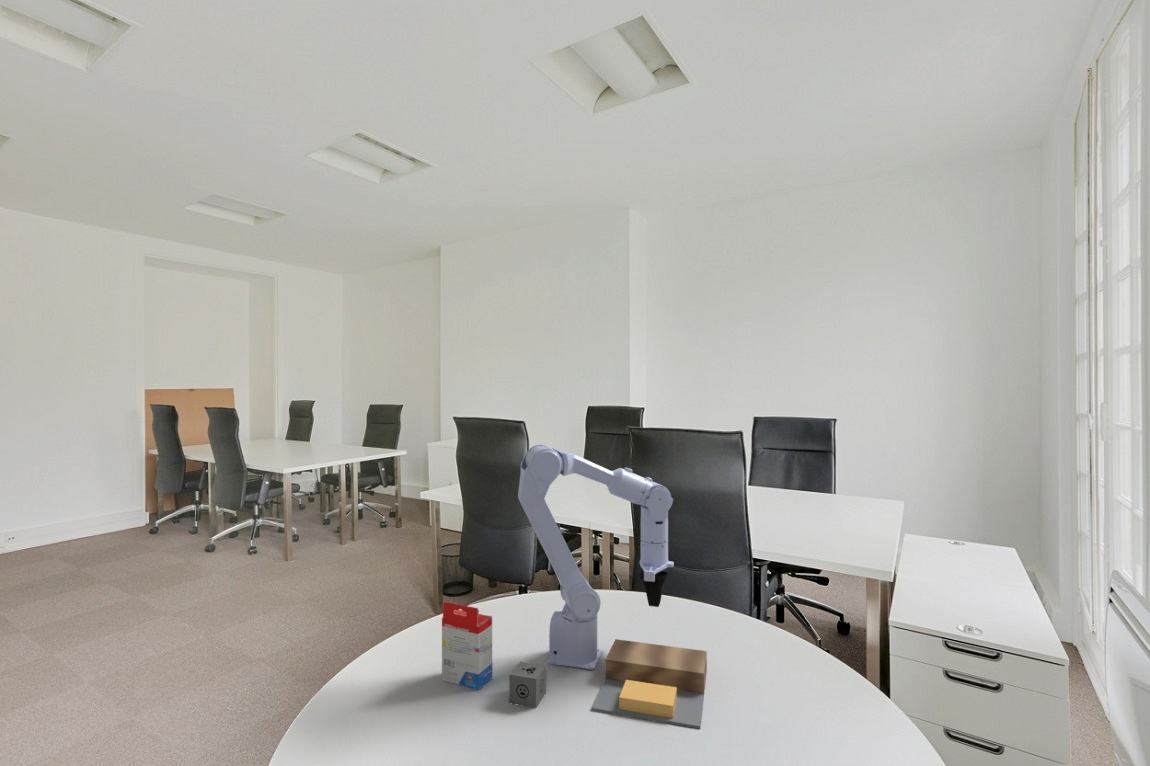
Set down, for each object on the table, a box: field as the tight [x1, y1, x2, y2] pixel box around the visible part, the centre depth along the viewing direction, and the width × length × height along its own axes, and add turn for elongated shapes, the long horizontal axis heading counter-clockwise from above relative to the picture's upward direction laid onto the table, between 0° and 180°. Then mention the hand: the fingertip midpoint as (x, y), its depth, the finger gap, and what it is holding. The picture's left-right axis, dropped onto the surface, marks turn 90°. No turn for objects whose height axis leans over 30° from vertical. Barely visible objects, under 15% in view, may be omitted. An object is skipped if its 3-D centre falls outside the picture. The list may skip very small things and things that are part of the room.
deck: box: [604, 638, 708, 695], centre depth 105 cm, size 18×9×4 cm, turn 74°
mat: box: [591, 678, 705, 729], centre depth 96 cm, size 18×11×1 cm, turn 74°
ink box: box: [441, 601, 493, 691], centre depth 103 cm, size 8×5×15 cm, turn 65°
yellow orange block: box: [619, 680, 677, 718], centre depth 95 cm, size 9×6×2 cm, turn 74°
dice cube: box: [508, 661, 547, 709], centre depth 97 cm, size 5×5×5 cm
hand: (654, 605), depth 115 cm, fingers closed
